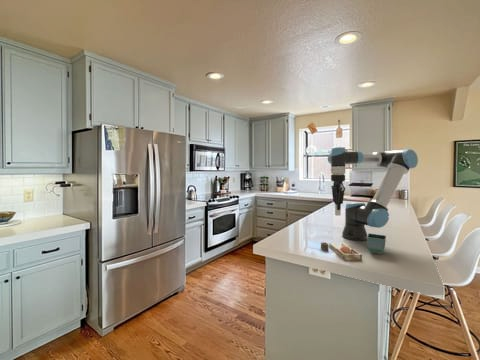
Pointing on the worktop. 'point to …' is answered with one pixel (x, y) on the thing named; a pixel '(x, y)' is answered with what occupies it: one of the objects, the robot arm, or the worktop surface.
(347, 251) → the ball
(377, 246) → the flower pot
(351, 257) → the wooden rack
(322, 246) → the wooden square sleeve
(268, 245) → the worktop surface
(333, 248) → the runway
